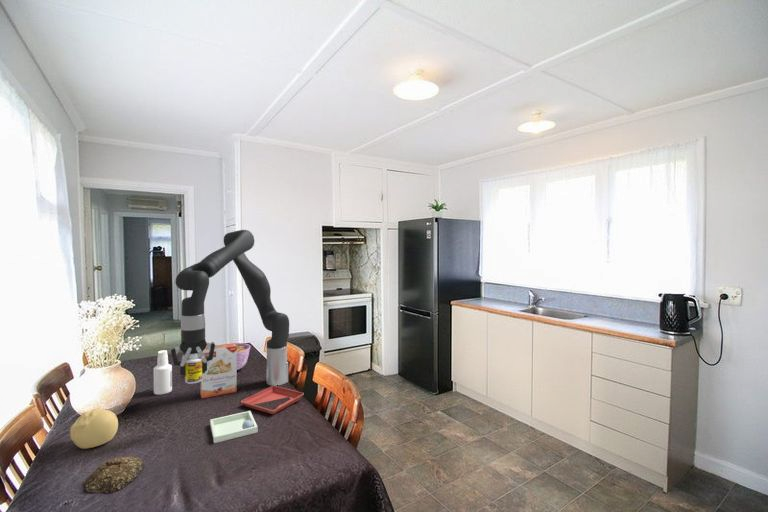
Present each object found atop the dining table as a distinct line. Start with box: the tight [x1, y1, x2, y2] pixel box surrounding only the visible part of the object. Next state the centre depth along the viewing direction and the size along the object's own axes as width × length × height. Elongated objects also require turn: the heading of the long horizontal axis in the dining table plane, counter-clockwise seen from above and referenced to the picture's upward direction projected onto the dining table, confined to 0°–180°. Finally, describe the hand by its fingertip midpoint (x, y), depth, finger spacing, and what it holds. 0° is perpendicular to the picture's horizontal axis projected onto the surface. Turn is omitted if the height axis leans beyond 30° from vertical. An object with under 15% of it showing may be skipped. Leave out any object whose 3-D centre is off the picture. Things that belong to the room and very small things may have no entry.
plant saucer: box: [240, 385, 304, 415], centre depth 144 cm, size 18×18×3 cm
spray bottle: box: [153, 349, 173, 396], centre depth 154 cm, size 7×7×18 cm
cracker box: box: [200, 342, 238, 399], centre depth 153 cm, size 14×6×21 cm, turn 122°
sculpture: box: [69, 407, 119, 450], centre depth 114 cm, size 12×12×11 cm
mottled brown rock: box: [83, 456, 146, 494], centre depth 97 cm, size 13×12×5 cm
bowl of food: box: [221, 342, 251, 371], centre depth 181 cm, size 20×20×12 cm
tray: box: [209, 410, 259, 444], centre depth 123 cm, size 14×14×2 cm
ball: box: [242, 420, 253, 429], centre depth 122 cm, size 4×4×4 cm
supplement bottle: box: [184, 353, 203, 385], centre depth 124 cm, size 6×6×10 cm
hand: (193, 374), depth 124 cm, fingers closed on supplement bottle, 5 cm apart
